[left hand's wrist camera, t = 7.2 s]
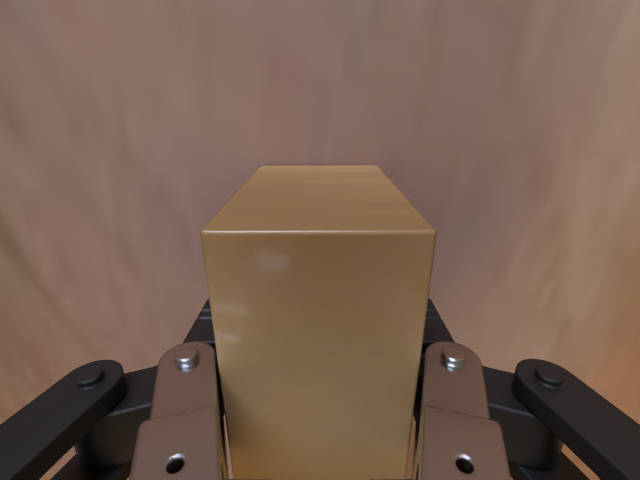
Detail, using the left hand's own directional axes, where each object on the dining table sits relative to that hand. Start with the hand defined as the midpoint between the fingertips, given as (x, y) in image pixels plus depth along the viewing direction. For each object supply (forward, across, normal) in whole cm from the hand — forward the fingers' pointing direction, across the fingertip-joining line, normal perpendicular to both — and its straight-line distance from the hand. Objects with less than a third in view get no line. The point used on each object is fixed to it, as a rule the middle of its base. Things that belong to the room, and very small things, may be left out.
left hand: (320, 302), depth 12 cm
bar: (+3, 0, -22) cm, 22 cm away
